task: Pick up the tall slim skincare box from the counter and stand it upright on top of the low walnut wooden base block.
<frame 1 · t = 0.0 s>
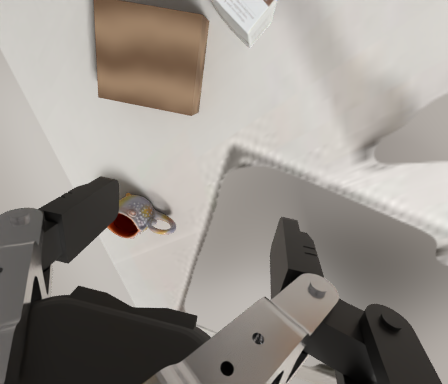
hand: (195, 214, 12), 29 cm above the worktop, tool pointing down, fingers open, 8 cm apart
base: (157, 61, 37), on the worktop
skincare box: (247, 19, 33), on the worktop
mug: (151, 211, 48), on the worktop
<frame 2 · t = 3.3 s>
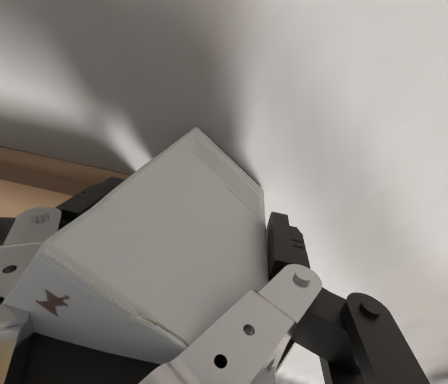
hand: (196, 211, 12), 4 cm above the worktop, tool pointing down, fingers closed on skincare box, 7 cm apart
base: (55, 227, 20), on the worktop
skincare box: (214, 178, 16), on the worktop, touching gripper
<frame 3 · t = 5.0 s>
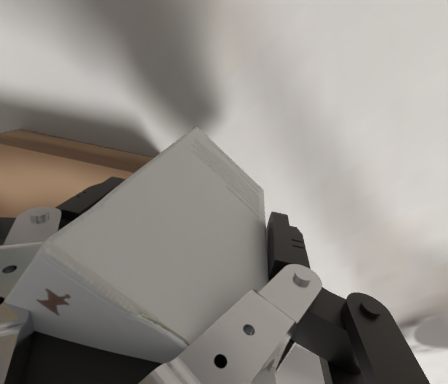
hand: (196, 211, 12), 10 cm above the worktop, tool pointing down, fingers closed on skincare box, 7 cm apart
base: (95, 203, 25), on the worktop
skincare box: (214, 178, 17), point 5 cm above the worktop, touching gripper
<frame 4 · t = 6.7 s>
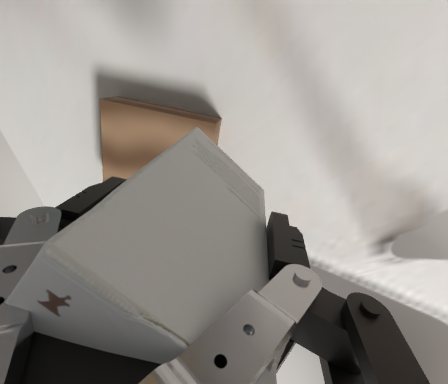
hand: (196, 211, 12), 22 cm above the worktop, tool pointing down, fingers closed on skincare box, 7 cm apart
base: (165, 151, 35), on the worktop
skincare box: (214, 178, 16), point 17 cm above the worktop, touching gripper
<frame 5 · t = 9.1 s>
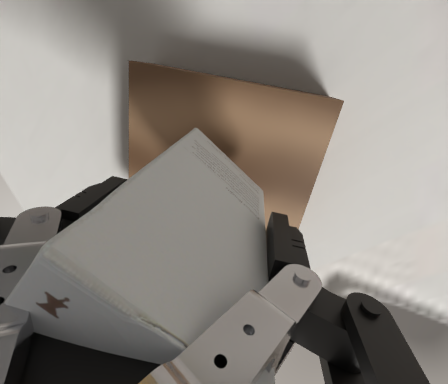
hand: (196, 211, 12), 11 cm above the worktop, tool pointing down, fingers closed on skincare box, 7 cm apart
base: (226, 153, 22), on the worktop
skincare box: (214, 179, 17), point 6 cm above the worktop, touching gripper
when the fingers open (10 cm above the worktop, at t = 10.3 s): skincare box drops 1 cm, resting on base.
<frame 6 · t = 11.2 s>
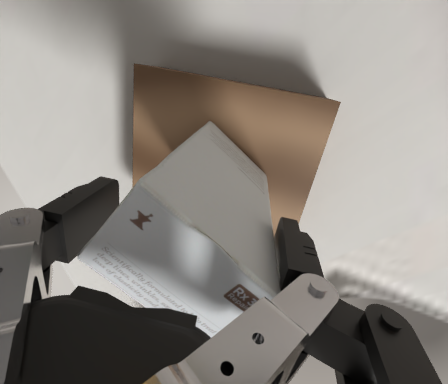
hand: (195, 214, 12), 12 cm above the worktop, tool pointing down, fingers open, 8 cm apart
base: (227, 153, 23), on the worktop
skincare box: (224, 165, 19), point 4 cm above the worktop, touching base, gripper
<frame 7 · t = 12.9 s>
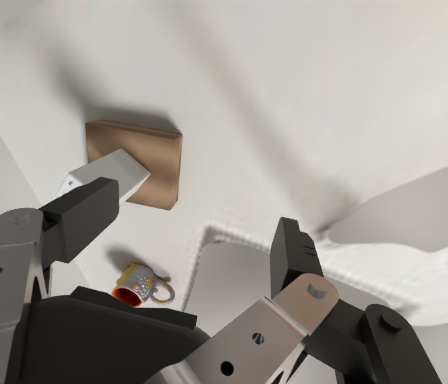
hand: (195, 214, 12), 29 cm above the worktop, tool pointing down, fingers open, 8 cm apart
base: (141, 162, 43), on the worktop
skincare box: (132, 168, 40), point 4 cm above the worktop, touching base
mug: (153, 277, 54), on the worktop
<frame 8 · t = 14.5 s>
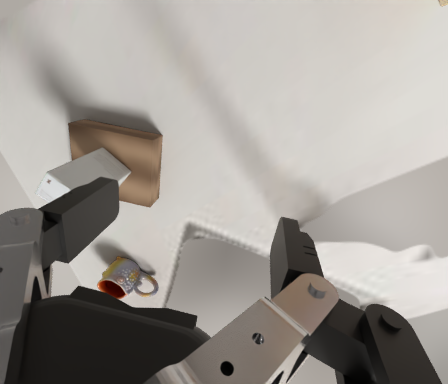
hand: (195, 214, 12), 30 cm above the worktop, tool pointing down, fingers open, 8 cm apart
base: (123, 160, 45), on the worktop
skincare box: (113, 166, 42), point 4 cm above the worktop, touching base
mug: (138, 271, 57), on the worktop
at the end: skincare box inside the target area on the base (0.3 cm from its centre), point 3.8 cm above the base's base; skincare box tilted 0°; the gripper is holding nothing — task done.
